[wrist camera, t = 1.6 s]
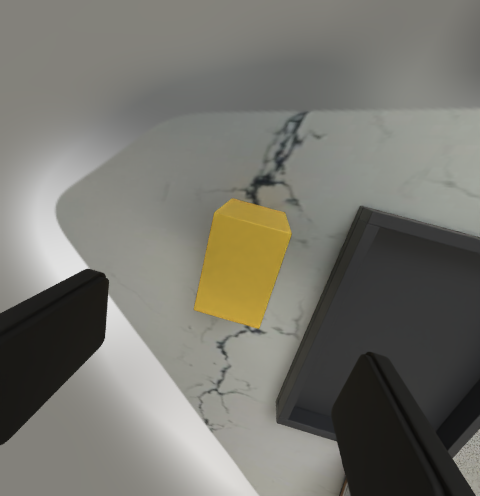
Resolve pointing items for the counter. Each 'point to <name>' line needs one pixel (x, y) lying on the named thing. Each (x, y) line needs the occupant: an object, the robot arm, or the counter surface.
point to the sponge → (242, 262)
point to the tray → (395, 325)
